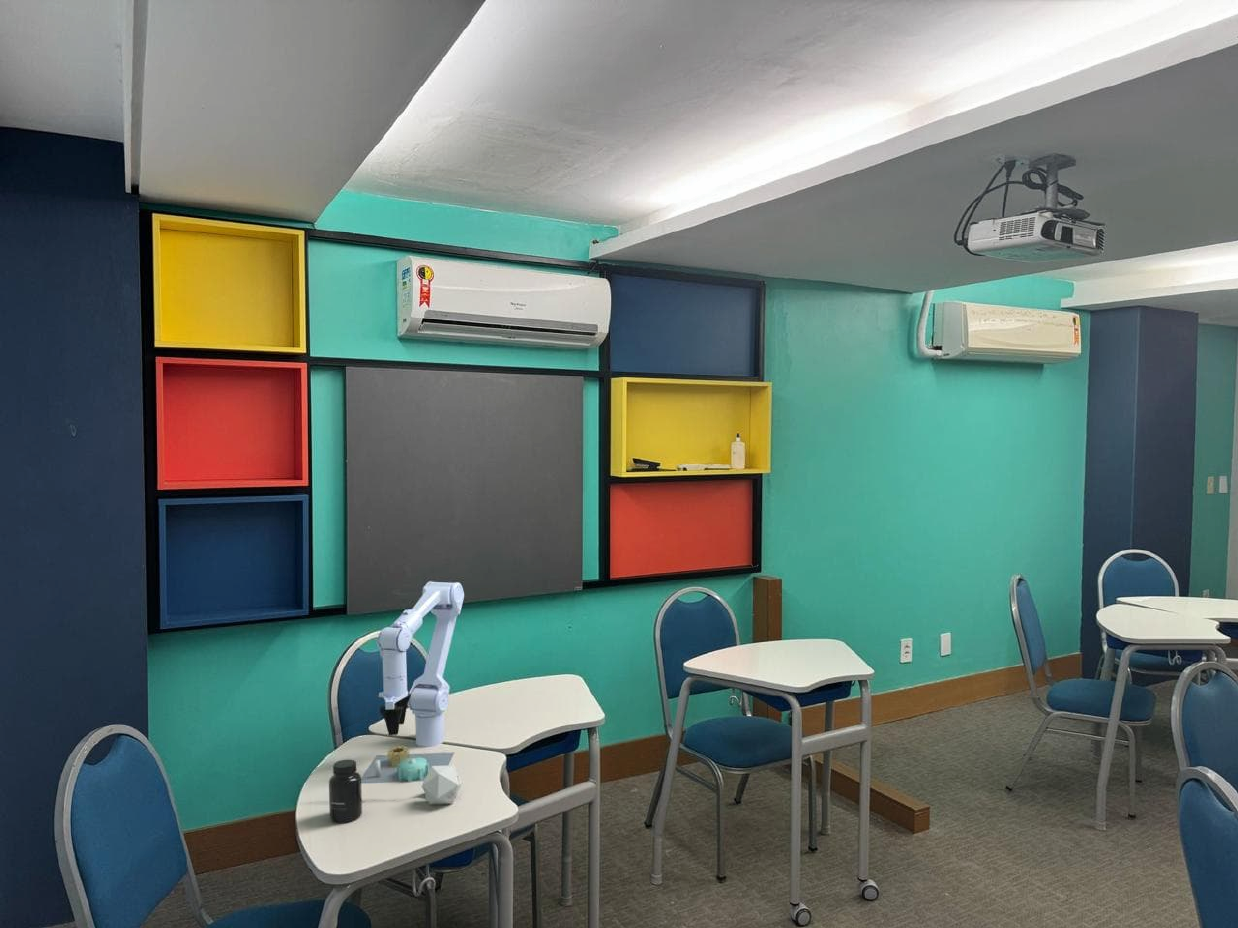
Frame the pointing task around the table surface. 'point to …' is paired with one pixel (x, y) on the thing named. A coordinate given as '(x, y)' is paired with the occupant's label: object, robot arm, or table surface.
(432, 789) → the die
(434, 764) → the gear board
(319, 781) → the table surface
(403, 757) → the yellow faceted ring
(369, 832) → the table surface
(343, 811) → the supplement bottle
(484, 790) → the table surface
